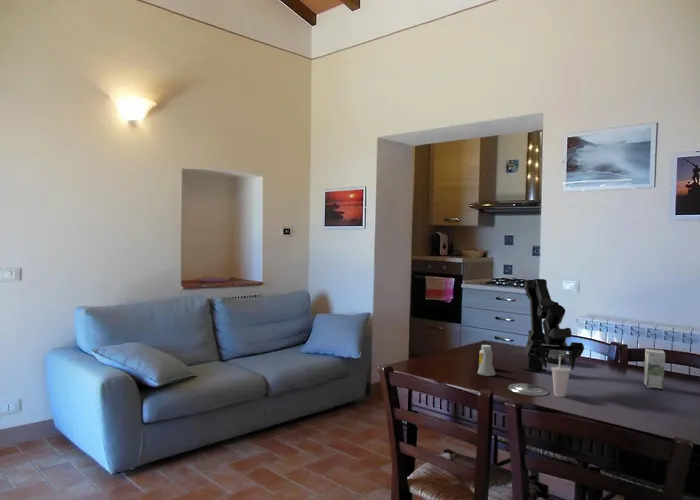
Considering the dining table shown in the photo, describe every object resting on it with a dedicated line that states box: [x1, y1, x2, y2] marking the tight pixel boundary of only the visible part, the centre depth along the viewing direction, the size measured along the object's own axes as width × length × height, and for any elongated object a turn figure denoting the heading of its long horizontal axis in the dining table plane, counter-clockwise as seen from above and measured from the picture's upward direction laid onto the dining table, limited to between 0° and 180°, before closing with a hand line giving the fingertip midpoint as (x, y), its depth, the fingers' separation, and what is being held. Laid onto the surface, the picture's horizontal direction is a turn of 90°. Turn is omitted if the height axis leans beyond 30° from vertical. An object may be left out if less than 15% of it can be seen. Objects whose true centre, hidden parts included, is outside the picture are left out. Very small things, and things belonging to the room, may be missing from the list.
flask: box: [476, 349, 496, 377], centre depth 208 cm, size 7×7×10 cm
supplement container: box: [545, 338, 568, 365], centre depth 236 cm, size 10×10×12 cm
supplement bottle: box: [478, 344, 493, 368], centre depth 218 cm, size 5×5×10 cm
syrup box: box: [643, 348, 666, 389], centre depth 198 cm, size 6×6×14 cm
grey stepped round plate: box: [507, 383, 549, 397], centre depth 188 cm, size 14×14×1 cm
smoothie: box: [550, 356, 571, 398], centre depth 182 cm, size 6×6×14 cm
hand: (559, 368), depth 184 cm, fingers open, 9 cm apart
